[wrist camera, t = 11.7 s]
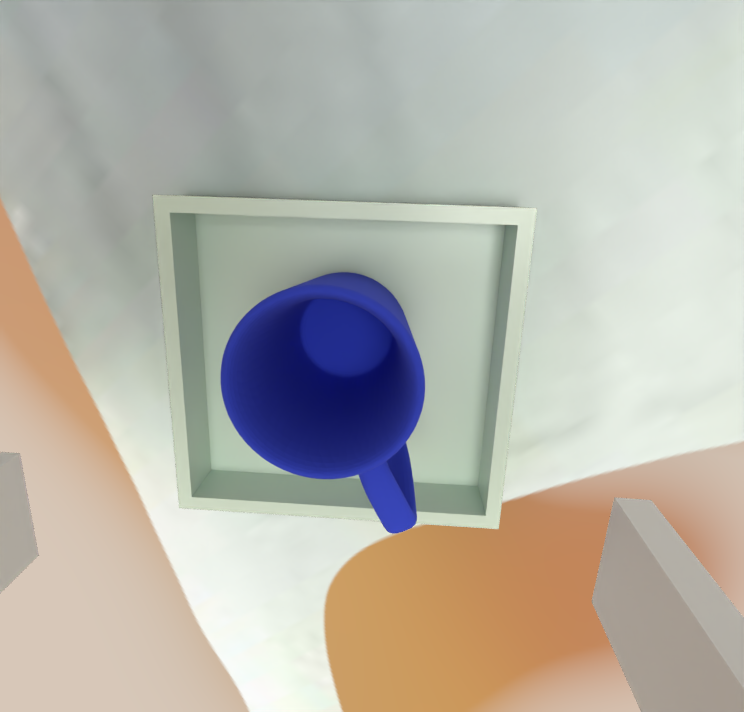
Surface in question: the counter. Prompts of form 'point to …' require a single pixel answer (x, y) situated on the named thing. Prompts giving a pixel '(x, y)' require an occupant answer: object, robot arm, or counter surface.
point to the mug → (330, 387)
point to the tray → (421, 308)
